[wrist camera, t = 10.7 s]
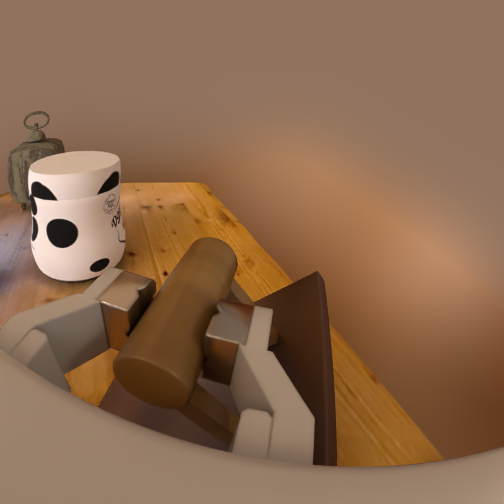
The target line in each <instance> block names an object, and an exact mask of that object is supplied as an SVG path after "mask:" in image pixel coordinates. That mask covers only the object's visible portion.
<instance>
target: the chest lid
mask: <svg viewBox="0 0 504 504" xmlns="http://www.w3.org/2000/svg"><path fill="white" fill-rule="evenodd" d="M237 265H238V263H237V257H236V255H235V253H234V251H233V250H232V248H231V247H230V246H229V245H228V244H227V243H225V242H224V241H222V240H219V239H217V238H211V237H207V238H201V239H198V240H196V241H195V242H194V243H192V245H191V246H190V247H189V249H188V250H187V251H186V253H185V254H184V256H183V257H182V258H181V260H180V261H179V263H178V264H177V266H176V267H175V268H174V270H173V271H172V273H171V274H170V276H169V277H168V279H167V280H166V281H165V283H164V284H163V286H162V287H161V289H160V290H159V292H158V293H157V295H156V296H155V298H154V299H153V301H152V302H151V304H150V305H149V307H148V308H147V310H146V311H145V313H144V314H143V316H142V317H141V319H140V320H139V322H138V323H137V325H136V326H135V328H134V330H133V331H132V333H131V334H130V336H129V337H128V339H127V341H126V342H125V344H124V345H123V347H122V348H121V350H120V352H119V353H118V355H117V356H116V358H115V360H114V362H113V373H114V375H115V378H114V379H113V381H112V383H111V385H110V386H109V388H108V390H107V392H106V394H105V395H104V397H103V399H102V401H101V402H100V404H99V406H98V407H99V408H101V409H103V410H105V411H107V412H110V413H112V414H114V415H116V416H119V417H121V418H123V419H126V420H128V421H131V422H133V423H136V424H138V425H141V426H143V427H146V428H149V429H151V430H154V431H157V432H160V433H163V434H166V435H169V436H172V437H175V438H178V439H181V440H185V441H188V442H191V443H195V444H198V445H202V446H206V447H210V448H214V449H218V450H222V451H226V452H228V449H229V447H230V444H231V441H232V438H233V436H234V433H235V430H236V427H237V424H238V422H239V419H240V414H239V411H238V409H237V406H236V404H235V401H234V398H233V396H232V393H231V390H230V388H229V387H230V386H227V385H224V384H220V383H217V382H213V381H210V380H206V379H203V378H201V371H202V367H203V363H204V360H205V357H206V356H205V354H204V353H203V350H204V341H205V334H206V331H207V329H208V326H209V324H210V321H211V319H212V317H213V316H215V314H216V307H217V304H218V301H219V299H220V298H223V299H227V300H231V301H236V302H240V303H244V304H248V305H253V306H254V308H255V306H260V307H264V308H269V309H272V310H273V315H272V321H271V328H270V335H269V341H268V348H267V351H271V352H273V354H274V355H275V357H276V358H277V360H278V362H279V363H280V365H281V366H282V368H283V370H284V371H285V373H286V374H287V376H288V378H289V379H290V381H291V382H292V384H293V385H294V387H295V389H296V390H297V392H298V393H299V395H300V396H301V398H302V400H303V401H304V403H305V404H306V406H307V407H308V409H309V410H310V412H311V413H312V415H313V416H314V418H315V423H314V448H313V465H322V466H337V440H336V410H335V391H334V375H333V361H332V349H331V338H330V327H329V317H328V308H327V299H326V291H325V283H324V280H323V278H322V277H321V275H320V274H319V272H318V271H316V272H314V273H312V274H310V275H308V276H306V277H305V278H302V279H300V280H298V281H297V282H294V283H292V284H290V285H288V286H286V287H284V288H282V289H280V290H278V291H276V292H274V293H272V294H270V295H268V296H266V297H264V298H262V299H260V300H258V301H255V302H253V301H252V300H251V299H250V298H249V296H248V295H247V294H246V293H245V292H244V290H243V289H242V288H241V287H240V285H239V284H238V283H237V282H236V280H235V279H234V276H235V273H236V270H237Z"/></svg>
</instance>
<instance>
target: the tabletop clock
mask: <svg viewBox="0 0 504 504" xmlns="http://www.w3.org/2000/svg"><path fill="white" fill-rule="evenodd" d="M35 114H43V115H45V116H47V118H48V121H47V123H45V124H44V125H41V126H38V123H35V124H34V127H30V126H27V125H26V124H25V121H26V119H27V118H28V117H29V116H31V115H35ZM48 123H49V115H48V114H47V113H45V112H42V111H37V112H33V113H30V114H29V115H28V116H26V118H25V119H24V126H25V127H26V128H28V129H32V130H34V131H32V132H30V133H29V135H28V136H27V139H26V142H23V143H22V144H20V145H19V146H17V147H16V148H14V149H13V150H11V151H10V154H9V158H8V182H9V189H10V193H11V196H12V198H13V200H14V202H17V203H21V204H22V205H21V208H22V209H25V208H26V204H30V200H29V188H28V173H29V168H30V165H31V164H33V163H34V162H36V161H37V160H40V159H42V158H45V157H48V156H52V155H56V154H61V153H65V151H64V146H63V143H62V141H61V140H59V139H55V138H46V137H45V134H44V132H43V131H41V130H38V129H40V128H43V127H45V126H46V125H47V124H48Z"/></svg>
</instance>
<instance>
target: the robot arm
mask: <svg viewBox="0 0 504 504" xmlns="http://www.w3.org/2000/svg"><path fill="white" fill-rule="evenodd" d="M155 292H156V282H155V281H154V280H153V279H150V278H147V277H143V276H140V275H137V274H134V273H131V272H128V271H124V270H121V269H118V268H115V267H109V268H107V269H106V270H105V271H104V272H103V273H102V274H101V275H100V276H99V277H98V278H97V279H96V280H95V281H94V282H93V283H92V284H91V285H90V286H89V287H88V288H87V289H86V291H85V292H84V293H83V294H82V295H81V294H78V293H77V294H74V295H71V296H68V297H65V298H62V299H59V300H56V301H53V302H50V303H47V304H44V305H41V306H38V307H35V308H32V309H29V310H26V311H23V312H20V313H17V314H14V315H13V316H12V317H11V318H10V319H9V320H8V321H7V322H6V323H5V324H4V325H3V327H2V328H1V329H0V504H504V447H501V448H497V449H494V450H490V451H486V452H482V453H478V454H474V455H470V456H465V457H459V458H454V459H449V460H442V461H436V462H428V463H420V464H410V465H397V466H377V467H342V466H322V465H313V448H314V423H315V418H314V416H313V415H312V413H311V412H310V410H309V409H308V407H307V406H306V404H305V403H304V401H303V400H302V398H301V396H300V395H299V393H298V392H297V390H296V389H295V387H294V385H293V384H292V382H291V381H290V379H289V378H288V376H287V374H286V373H285V371H284V370H283V368H282V366H281V365H280V363H279V362H278V360H277V358H276V357H275V355H274V354H273V352H271V351H267V348H268V341H269V335H270V328H271V321H272V315H273V310H272V309H269V308H264V307H260V306H255V308H254V306H253V305H248V304H244V303H240V302H236V301H231V300H227V299H223V298H220V299H219V301H218V304H217V307H216V314H215V316H213V317H212V319H211V321H210V324H209V326H208V329H207V331H206V334H205V341H204V350H203V353H204V354H205V356H206V357H205V360H204V363H203V367H202V371H201V378H203V379H206V380H210V381H213V382H217V383H220V384H224V385H227V386H230V387H229V388H230V390H231V393H232V396H233V398H234V401H235V404H236V406H237V409H238V411H239V414H240V419H239V422H238V424H237V427H236V430H235V433H234V436H233V438H232V441H231V444H230V447H229V449H228V452H226V451H222V450H218V449H214V448H210V447H206V446H202V445H198V444H195V443H191V442H188V441H185V440H181V439H178V438H175V437H172V436H169V435H166V434H163V433H160V432H157V431H154V430H151V429H149V428H146V427H143V426H141V425H138V424H136V423H133V422H131V421H128V420H126V419H123V418H121V417H119V416H116V415H114V414H112V413H110V412H107V411H105V410H103V409H101V408H99V407H97V406H94V405H92V404H90V403H88V402H86V401H84V400H82V399H80V398H79V397H77V396H75V395H73V394H71V393H70V392H71V389H70V386H69V384H68V382H67V380H66V378H65V376H64V374H66V373H68V372H70V371H71V370H73V369H75V368H77V367H78V366H80V365H82V364H84V363H85V362H87V361H89V360H91V359H93V358H94V357H96V356H98V355H100V354H101V353H103V352H105V351H107V350H108V349H109V347H110V348H112V349H115V350H118V351H120V350H121V348H122V347H123V345H124V344H125V342H126V341H127V339H128V337H129V336H130V334H131V333H132V331H133V330H134V328H135V326H136V325H137V323H138V322H139V320H140V319H141V317H142V316H143V314H144V313H145V311H146V310H147V308H148V307H149V305H150V304H151V302H152V301H153V299H154V298H153V295H154V294H155Z"/></svg>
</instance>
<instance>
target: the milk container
mask: <svg viewBox="0 0 504 504" xmlns="http://www.w3.org/2000/svg"><path fill="white" fill-rule="evenodd" d="M120 177H121V167H120V159H119V158H118V156H117V155H114V154H111V153H107V152H99V151H78V152H68V153H61V154H56V155H52V156H48V157H45V158H42V159H40V160H37V161H36V162H34V163H33V164H31V165H30V168H29V173H28V188H29V200H30V207H31V213H32V233H31V247H32V252H33V255H34V258H35V261H36V263H37V265H38V267H39V269H40V270H41V271H42V272H43V273H44V274H45V275H46V276H48V277H50V278H52V279H54V280H58V281H64V282H70V283H71V282H83V281H88V280H91V279H94V278H98V277H99V276H100V275H101V274H102V273H103V272H104V271H105V270H106V269H107V268H109V267H115V266H116V265H117V264H118V263H119V261H120V260H121V258H122V256H123V253H124V247H125V227H124V223H123V220H122V217H121V213H120Z"/></svg>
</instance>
